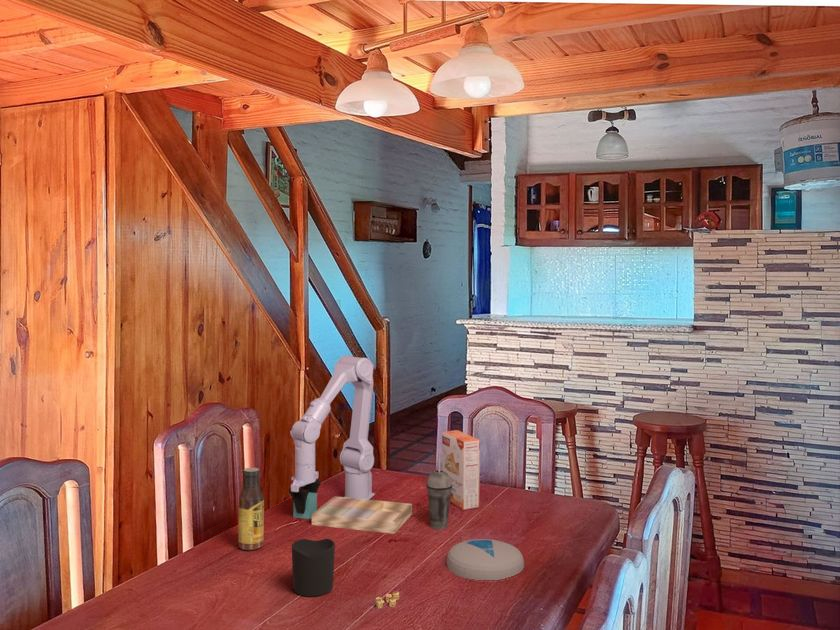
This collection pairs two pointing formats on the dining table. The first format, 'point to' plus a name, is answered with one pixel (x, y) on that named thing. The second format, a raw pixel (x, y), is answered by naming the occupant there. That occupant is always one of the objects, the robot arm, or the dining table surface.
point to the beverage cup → (439, 497)
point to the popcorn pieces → (388, 600)
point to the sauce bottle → (251, 512)
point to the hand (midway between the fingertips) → (305, 509)
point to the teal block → (307, 507)
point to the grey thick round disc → (485, 559)
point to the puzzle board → (366, 522)
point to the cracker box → (462, 467)
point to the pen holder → (313, 566)
